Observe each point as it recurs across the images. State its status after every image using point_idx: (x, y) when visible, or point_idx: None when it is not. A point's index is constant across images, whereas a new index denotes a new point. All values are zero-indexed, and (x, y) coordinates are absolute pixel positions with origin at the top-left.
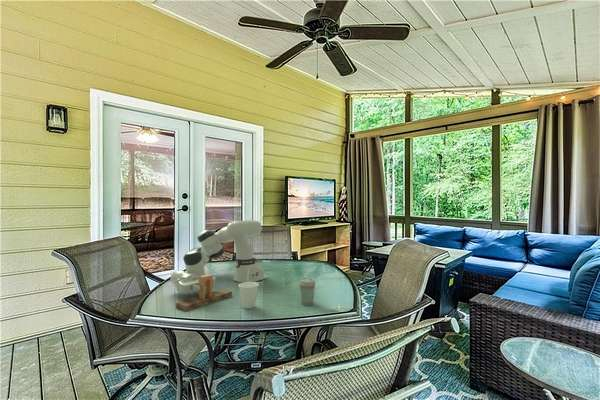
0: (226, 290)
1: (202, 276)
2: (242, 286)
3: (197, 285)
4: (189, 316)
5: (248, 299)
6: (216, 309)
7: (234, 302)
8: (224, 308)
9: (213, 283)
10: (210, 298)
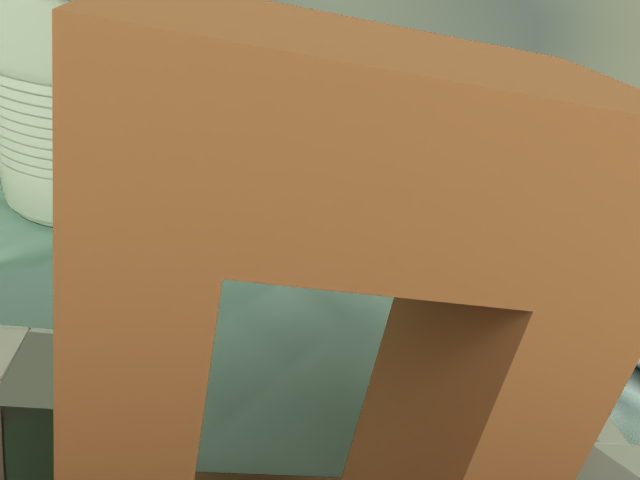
0: None
1: (567, 74)
2: (47, 32)
3: (627, 466)
4: (629, 401)
5: None
6: (320, 337)
7: (7, 320)
8: (242, 303)
9: (8, 334)
10: (245, 477)
